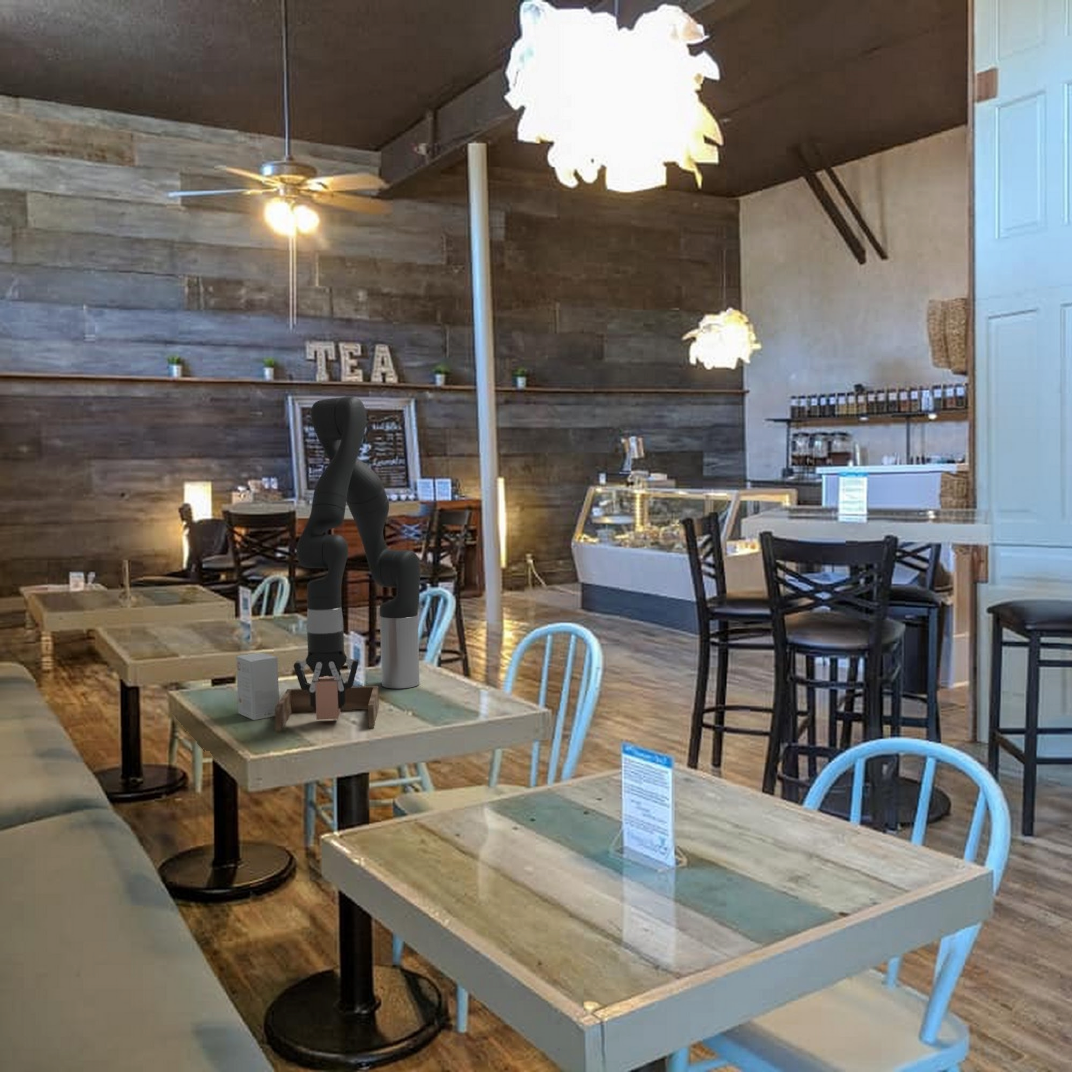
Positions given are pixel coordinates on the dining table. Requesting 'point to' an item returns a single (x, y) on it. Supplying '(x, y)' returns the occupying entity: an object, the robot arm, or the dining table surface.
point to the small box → (257, 685)
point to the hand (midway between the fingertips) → (328, 707)
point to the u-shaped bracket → (353, 700)
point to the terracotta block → (327, 698)
